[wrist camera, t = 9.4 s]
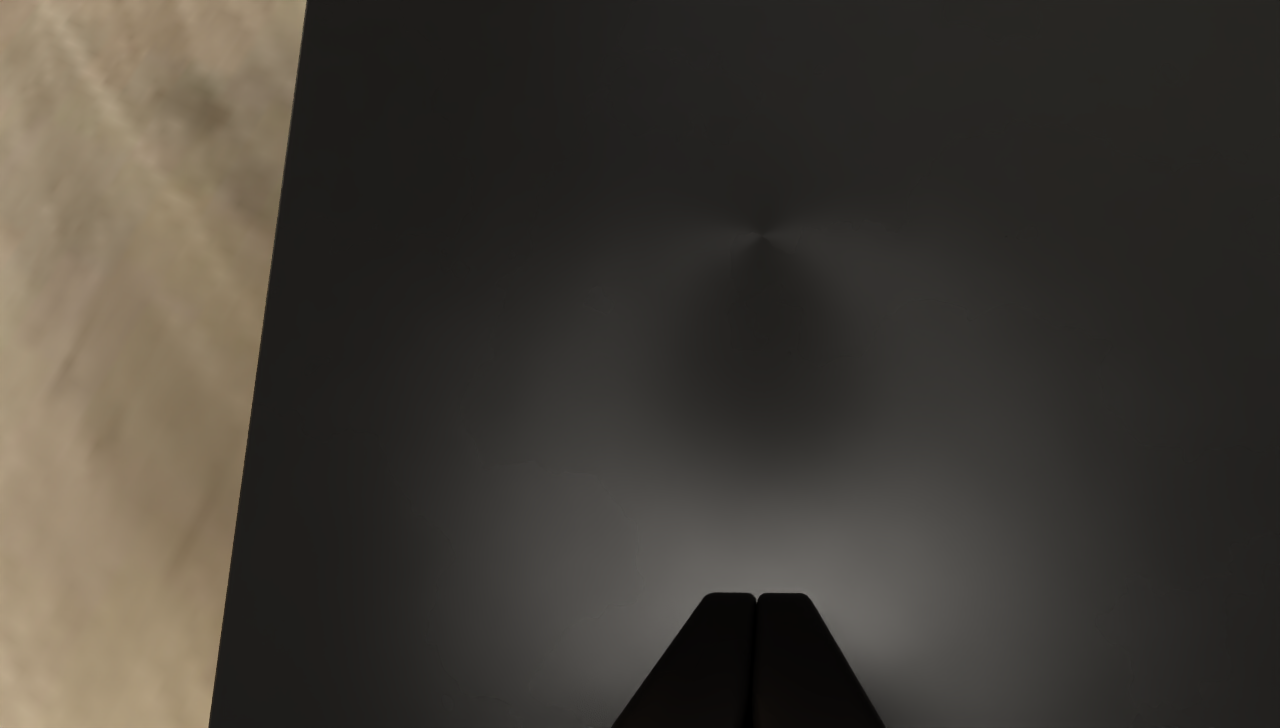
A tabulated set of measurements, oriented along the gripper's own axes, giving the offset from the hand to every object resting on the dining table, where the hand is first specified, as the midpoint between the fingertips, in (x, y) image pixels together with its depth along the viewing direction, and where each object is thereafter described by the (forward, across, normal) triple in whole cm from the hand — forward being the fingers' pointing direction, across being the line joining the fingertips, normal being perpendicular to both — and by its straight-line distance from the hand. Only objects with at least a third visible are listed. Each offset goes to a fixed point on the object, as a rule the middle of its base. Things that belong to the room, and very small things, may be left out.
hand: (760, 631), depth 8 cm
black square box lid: (+6, 0, -1) cm, 6 cm away
